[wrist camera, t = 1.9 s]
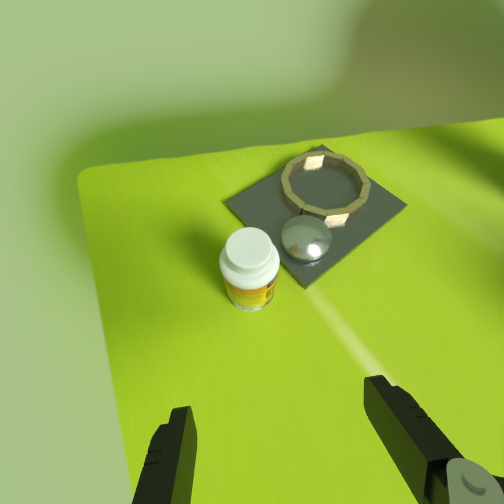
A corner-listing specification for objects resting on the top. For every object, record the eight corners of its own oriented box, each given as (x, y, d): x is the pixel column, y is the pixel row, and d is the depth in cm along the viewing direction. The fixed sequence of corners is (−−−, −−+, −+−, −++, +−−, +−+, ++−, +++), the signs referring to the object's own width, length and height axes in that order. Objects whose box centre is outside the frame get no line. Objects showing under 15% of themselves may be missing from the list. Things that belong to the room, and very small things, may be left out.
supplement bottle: (270, 316, 28) (277, 283, 19) (222, 308, 28) (207, 271, 19) (277, 272, 30) (286, 223, 21) (233, 264, 31) (223, 214, 22)
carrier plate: (320, 149, 41) (324, 136, 39) (403, 209, 35) (413, 197, 32) (226, 206, 35) (224, 194, 33) (305, 289, 29) (309, 281, 27)
